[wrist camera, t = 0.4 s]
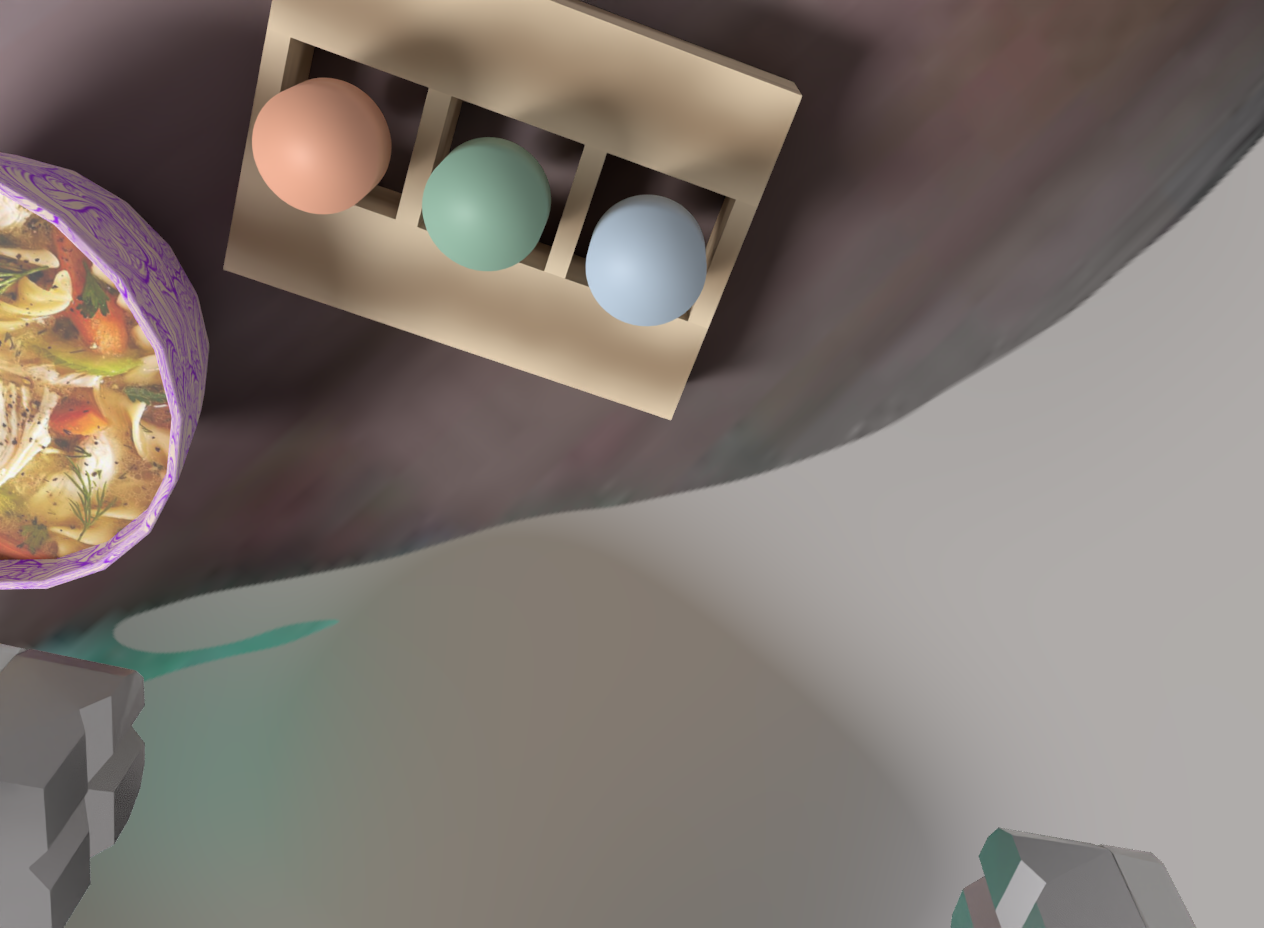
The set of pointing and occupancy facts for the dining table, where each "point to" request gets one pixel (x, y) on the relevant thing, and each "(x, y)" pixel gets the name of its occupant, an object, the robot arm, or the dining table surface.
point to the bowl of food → (87, 374)
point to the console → (606, 123)
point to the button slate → (646, 260)
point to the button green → (487, 204)
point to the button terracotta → (321, 145)
